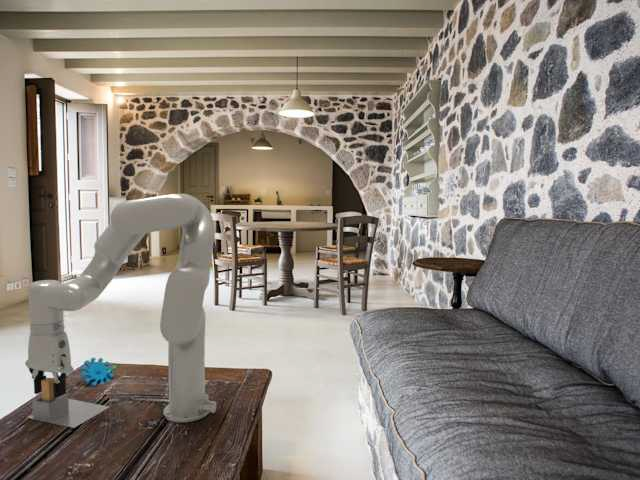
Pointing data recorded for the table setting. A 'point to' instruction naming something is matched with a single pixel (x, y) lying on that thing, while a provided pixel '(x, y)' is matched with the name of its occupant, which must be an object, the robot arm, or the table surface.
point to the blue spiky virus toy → (97, 371)
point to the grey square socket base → (64, 411)
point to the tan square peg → (47, 389)
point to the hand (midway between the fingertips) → (50, 393)
